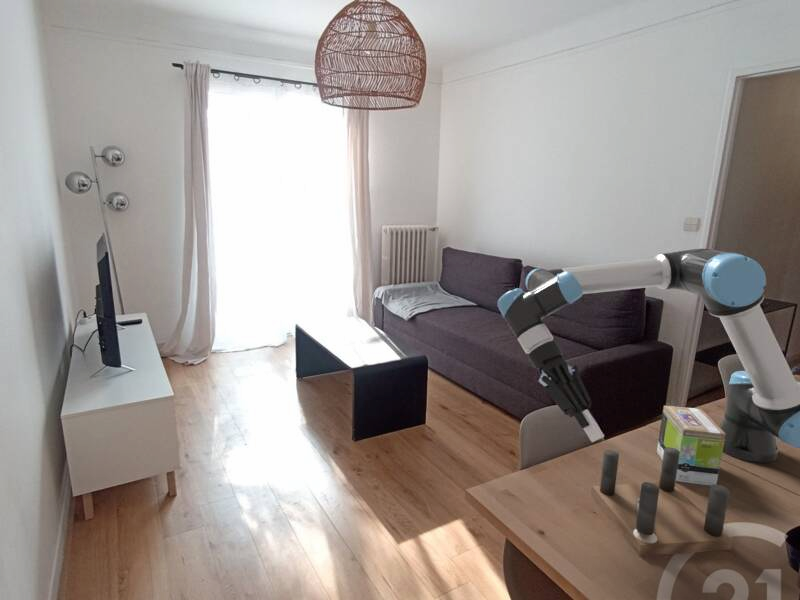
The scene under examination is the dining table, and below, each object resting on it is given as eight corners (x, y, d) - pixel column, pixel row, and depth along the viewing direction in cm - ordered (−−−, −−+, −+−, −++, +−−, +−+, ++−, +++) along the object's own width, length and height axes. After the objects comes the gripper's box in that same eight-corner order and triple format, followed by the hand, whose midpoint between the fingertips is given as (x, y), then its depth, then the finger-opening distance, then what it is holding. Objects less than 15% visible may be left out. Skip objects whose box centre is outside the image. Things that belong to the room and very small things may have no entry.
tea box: (718, 487, 118) (727, 433, 115) (674, 482, 120) (682, 429, 117) (694, 455, 132) (701, 407, 129) (655, 451, 134) (662, 403, 131)
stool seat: (668, 490, 116) (674, 444, 114) (731, 549, 97) (741, 495, 94) (590, 495, 114) (595, 448, 112) (639, 556, 95) (646, 501, 92)
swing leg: (635, 501, 108) (640, 457, 105) (650, 505, 106) (656, 461, 104) (635, 536, 96) (641, 488, 94) (652, 541, 95) (659, 493, 93)
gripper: (547, 350, 119) (602, 437, 109) (513, 360, 112) (568, 454, 102) (567, 334, 114) (627, 424, 104) (532, 344, 106) (593, 442, 97)
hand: (598, 439), depth 103 cm, fingers closed
